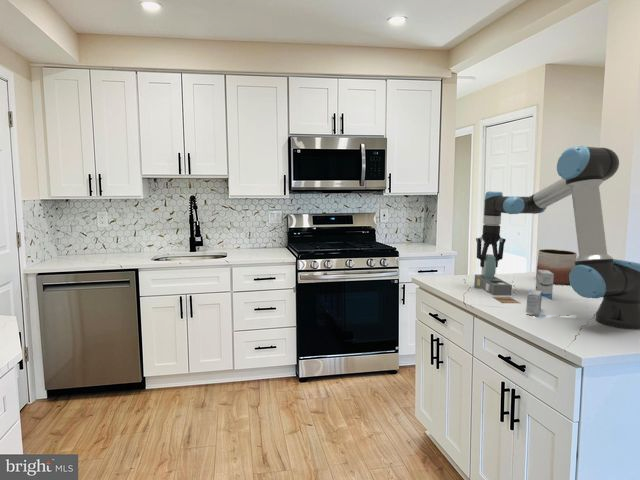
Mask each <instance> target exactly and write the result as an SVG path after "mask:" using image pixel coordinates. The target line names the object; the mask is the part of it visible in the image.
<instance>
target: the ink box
mask: <svg viewBox="0 0 640 480" xmlns="http://www.w3.org/2000/svg"><path fill="white" fill-rule="evenodd" d="M536 272H537V278H536V280H535V290H536V291H542V297H545V298H546V299H548V300H553V288H554V284H553V279H554V274H553V273H551V272H550V271H548V270H537V269H536Z"/></svg>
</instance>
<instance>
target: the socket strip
mask: <svg viewBox="0 0 640 480" xmlns="http://www.w3.org/2000/svg"><path fill="white" fill-rule="evenodd" d="M473 285H474V286H473V287H474V288H476V289H477V290H478V289H483V290H484V291H486V292H487V293H489V294H491V295H492V296H512V291H513V290H512V289H513V285H512V284H510V283H508V282H507V281H504V280H502V279H500V278H498V277H497V276H496V275H494V279H485V278H483V277H482V273H481V274H474V284H473Z"/></svg>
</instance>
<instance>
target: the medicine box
mask: <svg viewBox="0 0 640 480" xmlns="http://www.w3.org/2000/svg"><path fill="white" fill-rule="evenodd" d="M542 298H543V296H542V291H536V289H535V290H534V289H533V290H532V289H530V290H529V291H528V293H527V295H526V308H525V312H526V314H525V316H527V315H529V316H528V317H533V316H535V317H534V318H539V317H540V313H541V310H542V301H543V299H542ZM530 313H531V314H530Z"/></svg>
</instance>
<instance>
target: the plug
mask: <svg viewBox="0 0 640 480" xmlns="http://www.w3.org/2000/svg"><path fill="white" fill-rule="evenodd" d="M495 258H496V257H494V256H493V254H490V253H488V254H487V253H486V257H485V261H486V272H485V275H484V274H482V273H481V274H482V277H483V278H485V279H494V276H495V275H494V272H495V273H496V271H495Z"/></svg>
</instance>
